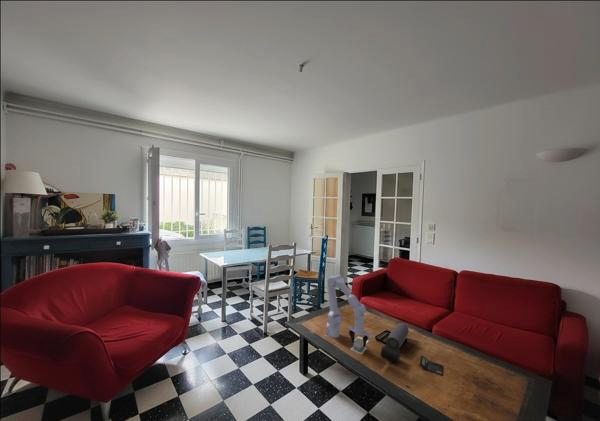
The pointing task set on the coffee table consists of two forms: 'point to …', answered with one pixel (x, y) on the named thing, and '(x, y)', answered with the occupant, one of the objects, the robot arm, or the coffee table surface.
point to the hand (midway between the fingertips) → (358, 344)
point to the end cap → (390, 354)
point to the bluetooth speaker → (397, 336)
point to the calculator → (431, 366)
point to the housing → (358, 344)
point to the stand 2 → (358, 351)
